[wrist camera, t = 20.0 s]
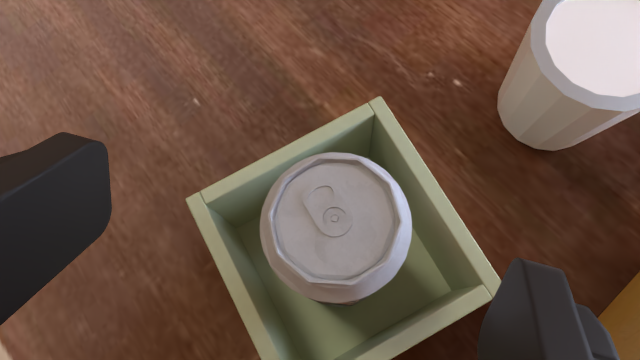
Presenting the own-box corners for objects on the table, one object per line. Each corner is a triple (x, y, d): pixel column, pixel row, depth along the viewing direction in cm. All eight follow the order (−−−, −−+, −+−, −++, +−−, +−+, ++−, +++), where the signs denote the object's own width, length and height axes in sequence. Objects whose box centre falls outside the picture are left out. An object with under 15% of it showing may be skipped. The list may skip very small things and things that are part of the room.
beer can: (325, 325, 24) (307, 336, 13) (278, 248, 26) (224, 194, 14) (401, 275, 25) (450, 242, 13) (352, 201, 26) (358, 113, 15)
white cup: (616, 72, 28) (701, -3, 21) (593, 176, 26) (677, 130, 20) (502, 41, 29) (549, -41, 22) (473, 140, 27) (514, 84, 21)
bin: (304, 391, 24) (289, 419, 18) (222, 225, 27) (184, 198, 21) (467, 296, 25) (508, 290, 19) (372, 144, 28) (380, 94, 21)
